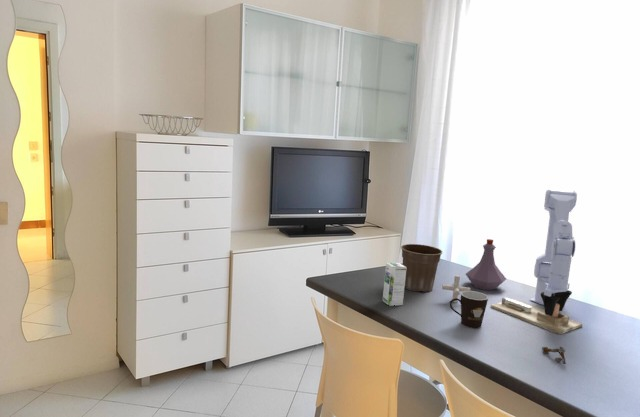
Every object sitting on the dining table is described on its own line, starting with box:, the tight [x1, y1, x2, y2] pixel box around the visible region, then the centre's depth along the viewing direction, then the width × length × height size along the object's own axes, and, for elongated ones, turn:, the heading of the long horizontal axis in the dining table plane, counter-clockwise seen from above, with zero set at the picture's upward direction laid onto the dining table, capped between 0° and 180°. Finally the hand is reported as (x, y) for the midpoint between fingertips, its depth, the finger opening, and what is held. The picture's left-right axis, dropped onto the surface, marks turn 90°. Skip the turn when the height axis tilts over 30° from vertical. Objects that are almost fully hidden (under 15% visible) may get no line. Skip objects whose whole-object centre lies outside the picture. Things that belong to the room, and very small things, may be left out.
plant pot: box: [400, 243, 443, 293], centre depth 189 cm, size 16×16×16 cm
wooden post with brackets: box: [541, 346, 567, 365], centre depth 134 cm, size 2×8×4 cm, turn 15°
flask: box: [465, 238, 507, 291], centre depth 196 cm, size 16×16×20 cm
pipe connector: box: [441, 274, 471, 303], centre depth 176 cm, size 10×10×10 cm
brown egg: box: [545, 303, 560, 319], centre depth 160 cm, size 4×4×6 cm
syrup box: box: [382, 261, 406, 307], centre depth 170 cm, size 6×6×14 cm
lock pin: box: [501, 296, 532, 313], centre depth 171 cm, size 2×11×2 cm, turn 34°
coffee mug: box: [449, 290, 489, 329], centre depth 155 cm, size 12×9×10 cm
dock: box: [490, 298, 583, 335], centre depth 166 cm, size 14×26×4 cm, turn 34°
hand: (553, 312), depth 159 cm, fingers open, 7 cm apart
